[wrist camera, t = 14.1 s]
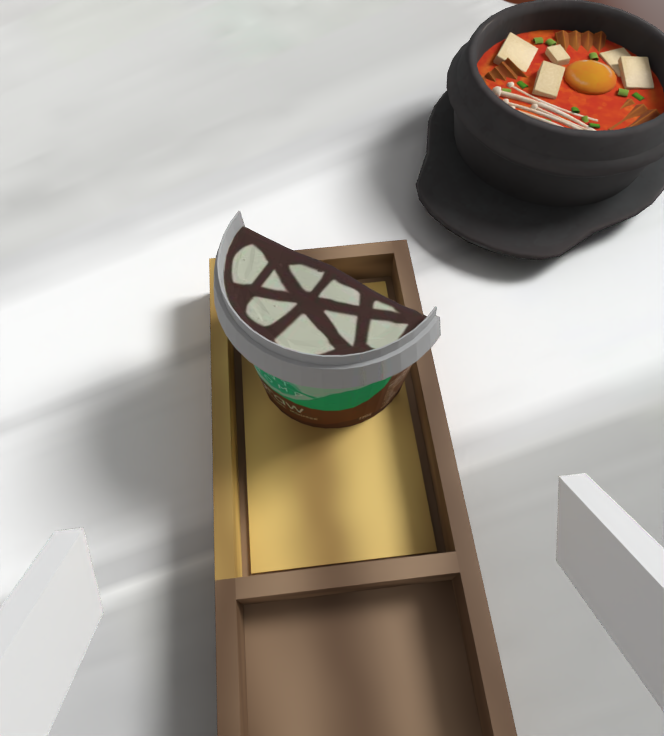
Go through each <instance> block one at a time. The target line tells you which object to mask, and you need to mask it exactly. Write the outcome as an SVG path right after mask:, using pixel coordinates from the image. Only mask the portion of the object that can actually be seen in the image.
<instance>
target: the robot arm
mask: <svg viewBox="0 0 664 736" xmlns="http://www.w3.org/2000/svg"><path fill="white" fill-rule="evenodd" d="M556 561H557V563H558V564H559V566H560V567H561V568H562V570H563V571H564V573H565V574H566V575H567V577H568V578H569V580H570V581H571V582H572V584H573V585H574V587H575V588H576V589H577V591H578V592H579V594H580V595H581V596H582V598H583V599H584V601H585V602H586V603H587V605H588V606H589V608H590V609H591V610H592V612H593V613H594V615H595V616H596V618H597V619H598V620H599V622H600V623H601V625H602V626H603V627H604V629H605V630H606V632H607V633H608V634H609V636H610V637H611V639H612V640H613V641H614V643H615V644H616V646H617V647H618V648H619V650H620V651H621V653H622V654H623V655H624V657H625V658H626V660H627V661H628V662H629V664H630V665H631V667H632V668H633V669H634V671H635V672H636V674H637V675H638V676H639V678H640V679H641V681H642V682H643V683H644V685H645V686H646V688H647V689H648V690H649V692H650V693H651V695H652V696H653V698H654V699H655V700H656V702H657V703H658V705H659V706H660V707H661V709H662V710H663V712H664V548H663V547H662V546H661V545H660V544H659V543H658V542H657V541H656V540H655V539H654V538H653V537H652V536H651V535H649V534H648V533H647V532H646V531H645V530H644V529H643V528H642V527H641V526H640V525H639V524H638V523H637V522H636V521H635V520H634V519H633V518H632V517H631V516H630V515H629V514H628V513H627V512H626V511H624V510H623V509H622V508H621V507H620V506H619V505H618V504H617V503H616V502H615V501H614V500H613V499H612V498H611V497H610V496H609V495H608V494H607V493H606V492H605V491H604V490H603V489H602V488H601V487H600V486H598V485H597V484H596V483H595V482H594V481H593V480H592V479H591V478H590V477H589V476H588V475H587V474H586V473H583V474H574V475H565V476H559V485H558V517H557V549H556ZM103 613H104V610H103V606H102V602H101V598H100V594H99V590H98V586H97V581H96V577H95V573H94V569H93V565H92V561H91V556H90V552H89V548H88V544H87V540H86V536H85V532H84V528H75V529H66V530H57V531H54V533H53V534H52V536H51V537H50V538H49V540H48V541H47V543H46V544H45V545H44V547H43V548H42V550H41V551H40V553H39V554H38V555H37V557H36V558H35V560H34V561H33V562H32V564H31V565H30V567H29V568H28V569H27V571H26V572H25V574H24V575H23V576H22V578H21V579H20V581H19V582H18V584H17V585H16V586H15V588H14V589H13V591H12V592H11V593H10V595H9V596H8V598H7V599H6V600H5V602H4V603H3V605H2V606H1V607H0V736H48V734H49V732H50V729H51V727H52V725H53V723H54V721H55V719H56V716H57V714H58V712H59V710H60V708H61V705H62V703H63V701H64V699H65V697H66V694H67V692H68V690H69V688H70V686H71V683H72V681H73V679H74V677H75V675H76V672H77V670H78V668H79V666H80V664H81V661H82V659H83V657H84V655H85V653H86V650H87V648H88V646H89V644H90V642H91V639H92V637H93V635H94V633H95V631H96V628H97V626H98V624H99V622H100V620H101V617H102V615H103Z"/></svg>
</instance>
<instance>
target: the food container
mask: <svg viewBox="0 0 664 736" xmlns="http://www.w3.org/2000/svg"><path fill="white" fill-rule="evenodd" d="M214 303H215V308H216V312H217V316H218V319H219V322H220V324H221V326H222V328H223V330H224V332H225V334H226V336H227V337H228V339H229V340H230V341H231V343H232V344H233V345H234V347H235V348H236V349H237V350H238V351H239V352H240V353H241V354H242V355H243V356H244V357H245V358H246V359H247V360H248V361H249V362H251V363H252V364H254V366H255V369H256V371H257V373H258V375H259V377H260V379H261V382H262V384H263V386H264V388H265V390H266V392H267V394H268V397H269V399H270V400H271V401H272V402H273V403H274V404H275V405H276V406H277V407H278V408H279V409H280V411H281V412H283V413H284V414H286V415H287V416H288V417H290V418H291V419H294V420H296V421H298V422H300V423H302V424H305V425H309V426H312V427H318V428H325V429H327V428H343V427H349V426H353V425H356V424H359V423H362V422H364V421H366V420H368V419H370V418H372V417H374V416H375V415H377V414H378V413H380V412H381V411H382V410H384V409H385V408H386V407H387V406H388V405H389V404H390V403H391V402H392V401H393V399H394V398H395V397H396V395H397V394H398V392H399V391H400V389H401V387H402V384H403V382H404V380H405V378H406V376H407V374H408V372H409V370H410V367H411V365H412V364H413V363H415V362H416V361H418V360H419V359H420V358H421V357H422V356H423V355H424V354H425V353H426V352H427V351H428V350H429V349H430V348H431V347H432V346H433V345H434V343H435V342H436V341H437V339H438V338H439V337H440V335H441V334H440V317H438V316H436V310H437V307H436V306H435V307H434V309H433V310H432V311H431V312H430V314H429V315H428V316H425V315H423V314H421V313H419V312H418V311H416V310H414V309H411V308H408V307H406V306H403V305H401V304H399V303H397V302H395V301H393V300H391V299H389V298H387V297H385V296H383V295H381V294H379V293H378V292H376V291H374V290H372V289H370V288H369V287H367V286H365V285H364V284H362V283H360V282H359V281H357V280H356V279H354V278H352V277H351V276H349V275H347V274H346V273H344V272H342V271H340V270H339V269H337V268H335V267H334V266H332V265H329V264H327V263H325V262H322V261H320V260H317V259H315V258H312V257H309V256H306V255H304V254H301V253H298V252H296V251H293V250H291V249H289V248H286V247H284V246H282V245H280V244H278V243H276V242H274V241H272V240H270V239H268V238H266V237H264V236H262V235H260V234H258V233H256V232H254V231H252V230H250V229H248V228H246V227H245V225H244V222H243V219H242V216H241V212H240V211H238V212H237V214H236V215H235V216H234V218H233V219H232V220H231V222H230V223H229V225H228V227H227V229H226V231H225V233H224V234H223V237H222V240H221V243H220V246H219V249H218V252H217V255H216V260H215V267H214Z"/></svg>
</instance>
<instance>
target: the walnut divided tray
mask: <svg viewBox="0 0 664 736" xmlns="http://www.w3.org/2000/svg"><path fill="white" fill-rule="evenodd" d="M294 251H296V252H298V253H301V254H304V255H306V256H309V257H312V258H315V259H317V260H320V261H322V262H325V263H327V264H329V265H332V266H334V267H335V268H337V269H339V270H340V271H342V272H344V273H346V274H347V275H349V276H351V277H352V278H354V279H356V280H357V281H359V282H360V283H362V284H364V285H365V286H367V287H369V288H370V289H372V290H374V291H376V292H378V293H379V294H381V295H383V296H385V297H387V298H389V299H391V300H393V301H395V302H397V303H399V304H401V305H403V306H406V307H408V308H411V309H414V310H416V311H418V312H419V313H421V314H423V311H422V307H421V302H420V298H419V293H418V289H417V284H416V280H415V275H414V271H413V266H412V262H411V257H410V253H409V248H408V244H407V240H397V241H387V242H376V243H366V244H356V245H345V246H335V247H325V248H314V249H304V250H294ZM215 260H216V258H211V259H209V271H210V329H211V387H212V445H213V502H214V560H215V618H216V676H217V733H218V736H517V733H516V728H515V724H514V719H513V715H512V710H511V706H510V701H509V697H508V692H507V688H506V683H505V679H504V674H503V670H502V665H501V661H500V656H499V652H498V647H497V643H496V639H495V634H494V630H493V625H492V621H491V616H490V612H489V607H488V603H487V598H486V594H485V589H484V585H483V580H482V576H481V571H480V567H479V562H478V558H477V553H476V549H475V544H474V540H473V535H472V531H471V526H470V522H469V517H468V513H467V508H466V504H465V500H464V495H463V491H462V486H461V482H460V477H459V473H458V468H457V464H456V459H455V455H454V450H453V446H452V441H451V437H450V432H449V428H448V423H447V419H446V414H445V410H444V405H443V401H442V396H441V392H440V387H439V383H438V378H437V374H436V369H435V365H434V361H433V356H432V352H431V348H430V349H429V350H428V351H427V352H426V353H425V354H424V355H423V356H422V357H421V358H420V359H419V360H418V361H416V362H415V363H413V364H412V365H411V367H410V370H409V372H408V374H407V376H406V378H405V380H404V382H403V384H402V387H401V389H400V391H399V392H398V394H397V395H396V397H395V398H394V399H393V401H392V402H391V403H390V404H389V405H388V406H387V407H386V408H385V409H384V410H382V411H381V412H380V413H378V414H377V415H375V416H374V417H372V418H370V419H368V420H366V421H364V422H362V423H359V424H356V425H353V426H349V427H343V428H327V429H325V428H318V427H312V426H309V425H305V424H302V423H300V422H298V421H296V420H294V419H291V418H290V417H288V416H287V415H286V414H284V413H283V412H281V411H280V409H279V408H278V407H277V406H276V405H275V404H274V403H273V402H272V401H271V400H270V399H269V397H268V394H267V392H266V390H265V388H264V386H263V384H262V382H261V379H260V377H259V375H258V373H257V371H256V369H255V366H254V364H252V363H251V362H249V361H248V360H247V359H246V358H245V357H244V356H243V355H242V354H241V353H240V352H239V351H238V350H237V349H236V348H235V347H234V345H233V344H232V343H231V341H230V340H229V339H228V337H227V336H226V334H225V332H224V330H223V328H222V326H221V324H220V322H219V319H218V316H217V312H216V308H215V303H214V267H215Z"/></svg>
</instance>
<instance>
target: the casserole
mask: <svg viewBox="0 0 664 736" xmlns="http://www.w3.org/2000/svg"><path fill="white" fill-rule="evenodd" d="M416 188H417V192H418V196H419V200H420V201H421V203H422V204H423V205H424V207H425V208H426V209H427V211H428V212H429V213H430V214H431V215H432V216H433V217H434V218H435V219H436V220H438V221H439V222H440V223H441V224H442V225H443V226H444V227H446V228H447V229H448V230H450V231H452V232H453V233H455V234H457V235H458V236H460V237H461V238H463V239H465V240H466V241H468V242H470V243H473V244H475V245H478V246H480V247H482V248H485V249H487V250H490V251H492V252H496V253H500V254H504V255H508V256H511V257H515V258H523V259H535V260H542V259H547V258H553V257H558V256H561V255H562V254H564V253H565V252H567V251H568V250H570V249H571V248H573V247H574V246H576V245H577V244H579V243H580V242H582V241H583V240H585V239H586V238H588V237H589V236H591V235H592V234H594V233H595V232H598V231H600V230H603V229H605V228H607V227H610V226H612V225H615V224H617V223H619V222H622V221H624V220H626V219H629V218H631V217H633V216H636V215H637V214H639V213H640V212H641V211H643V210H644V209H646V208H647V207H648V206H650V205H651V204H653V202H654V201H655V200H656V199H657V197H658V196H659V195H660V194H661V193H662V191H663V190H664V33H663V32H662V31H660V30H659V29H658V28H656V27H655V26H653V25H652V24H650V23H648V22H646V21H645V20H643V19H641V18H640V17H638V16H635V15H633V14H631V13H628V12H626V11H623V10H621V9H618V8H614V7H611V6H608V5H604V4H600V3H594V2H589V1H583V0H536V1H531V2H525V3H521V4H518V5H514V6H511V7H508V8H505V9H503V10H502V11H500V12H498V13H496V14H494V15H492V16H491V17H489V18H488V19H487V20H486V21H484V22H483V23H482V24H481V25H480V26H479V27H478V28H477V30H476V31H475V32H474V34H473V35H472V36H471V38H470V40H469V41H468V42H467V43H466V44H465V45H463V46H462V47H461V49H460V50H459V51H458V53H457V54H456V55H455V57H454V58H453V60H452V62H451V65H450V67H449V70H448V73H447V91H446V92H445V93H444V94H443V95H442V97H441V98H440V99H439V101H438V102H437V103H436V105H435V106H434V108H433V111H432V113H431V116H430V119H429V121H428V136H427V153H426V156H425V159H424V162H423V165H422V168H421V171H420V174H419V177H418V180H417V183H416Z"/></svg>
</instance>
